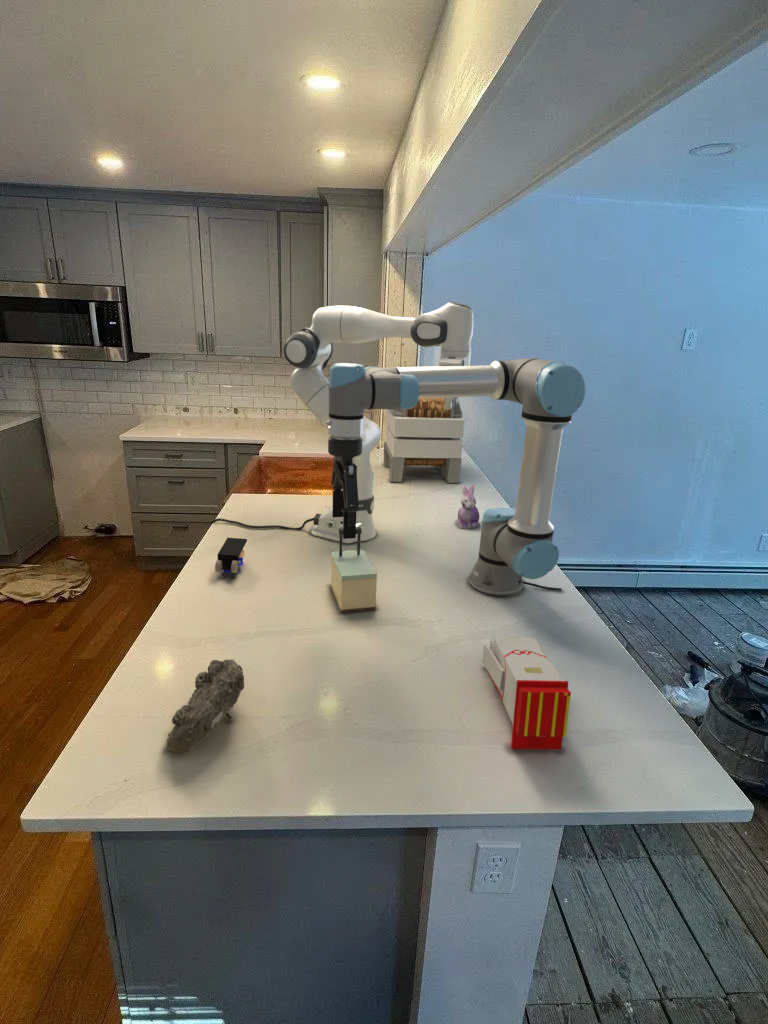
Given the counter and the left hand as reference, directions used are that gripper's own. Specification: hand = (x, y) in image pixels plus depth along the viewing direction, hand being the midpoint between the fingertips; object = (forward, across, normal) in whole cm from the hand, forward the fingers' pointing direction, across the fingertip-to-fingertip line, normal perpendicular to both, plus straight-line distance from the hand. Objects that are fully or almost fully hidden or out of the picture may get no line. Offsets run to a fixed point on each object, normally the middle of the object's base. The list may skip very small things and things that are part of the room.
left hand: (451, 406), depth 174 cm
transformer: (+47, -86, -27) cm, 102 cm away
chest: (+47, +43, -15) cm, 65 cm away
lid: (+38, +43, -15) cm, 59 cm away
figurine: (+47, -25, +6) cm, 54 cm away
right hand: (+20, +58, -13) cm, 63 cm away
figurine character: (+47, +40, -54) cm, 82 cm away
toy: (+47, +72, +31) cm, 92 cm away
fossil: (+47, +97, -24) cm, 111 cm away
